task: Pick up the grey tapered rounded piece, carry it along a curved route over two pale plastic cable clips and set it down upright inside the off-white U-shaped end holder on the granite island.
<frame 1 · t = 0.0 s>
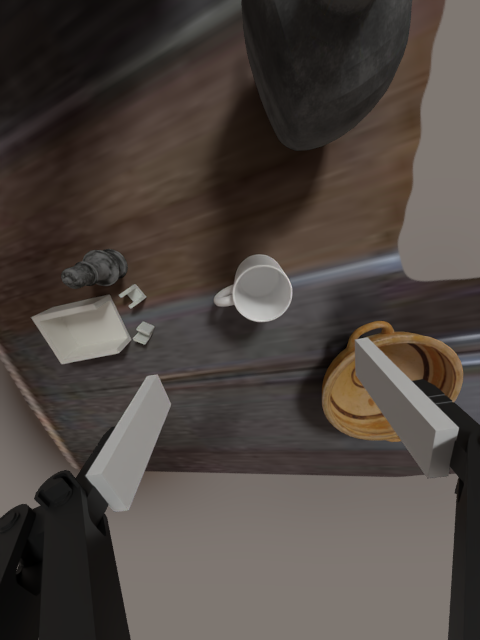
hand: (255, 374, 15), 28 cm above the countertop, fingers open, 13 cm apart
mug: (248, 280, 41), on the countertop
clip 1: (136, 293, 43), on the countertop
ceramic bowl: (368, 367, 48), on the countertop
pitcher: (291, 80, 30), on the countertop
end holder: (93, 323, 45), on the countertop
clip 2: (146, 329, 46), on the countertop
grey tapered rounded piece: (113, 264, 41), on the countertop
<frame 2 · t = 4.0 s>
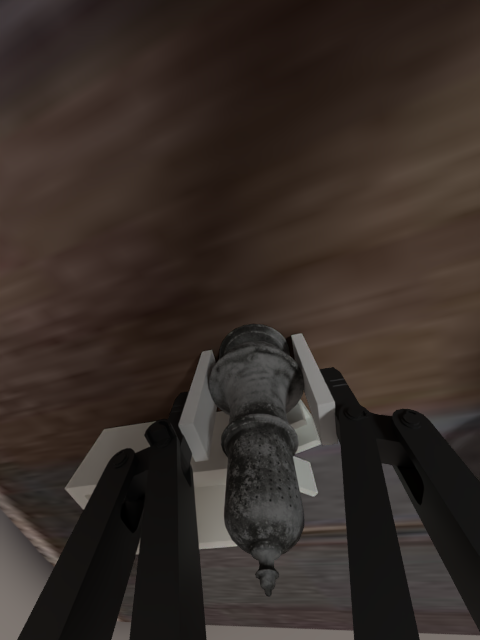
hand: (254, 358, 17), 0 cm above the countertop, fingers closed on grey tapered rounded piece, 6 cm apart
clip 1: (291, 409, 19), on the countertop
end holder: (183, 456, 22), on the countertop
clip 2: (290, 467, 22), on the countertop
grey tapered rounded piece: (254, 354, 17), on the countertop, touching gripper
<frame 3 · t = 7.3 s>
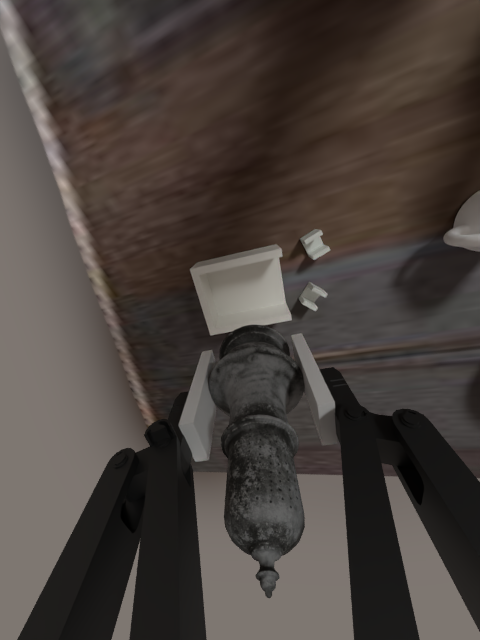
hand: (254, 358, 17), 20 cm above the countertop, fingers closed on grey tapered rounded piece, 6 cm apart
mug: (466, 223, 31), on the countertop
clip 1: (312, 243, 33), on the countertop
end holder: (243, 285, 36), on the countertop
clip 2: (310, 293, 36), on the countertop
grey tapered rounded piece: (254, 354, 17), point 20 cm above the countertop, touching gripper
when the fingers open (3 cm above the countertop, at t = 10.7 s): grey tapered rounded piece drops 2 cm, resting on end holder.
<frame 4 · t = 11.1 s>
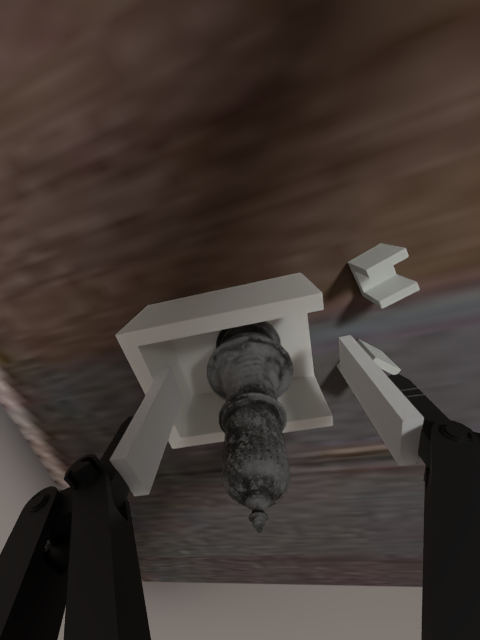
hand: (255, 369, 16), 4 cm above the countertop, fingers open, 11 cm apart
clip 1: (371, 270, 17), on the countertop
end holder: (236, 345, 19), on the countertop
clip 2: (358, 358, 20), on the countertop
grey tapered rounded piece: (248, 345, 19), resting on end holder
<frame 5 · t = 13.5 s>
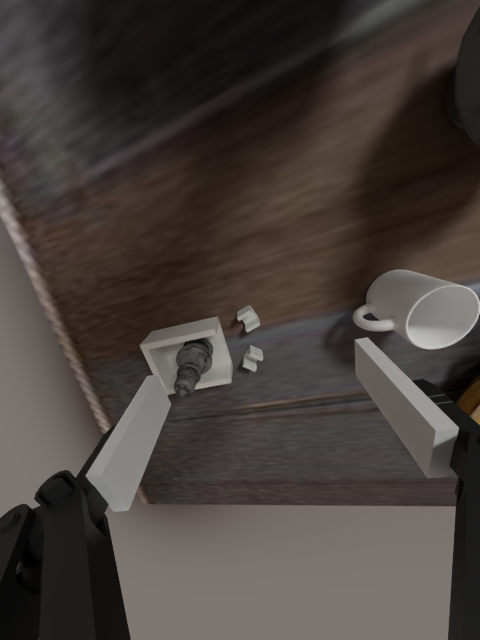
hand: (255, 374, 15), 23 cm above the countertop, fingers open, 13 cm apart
mug: (377, 297, 37), on the countertop
clip 1: (248, 315, 38), on the countertop
pitcher: (473, 73, 26), on the countertop
end holder: (193, 348, 41), on the countertop
clip 2: (252, 354, 41), on the countertop
grey tapered rounded piece: (198, 348, 40), resting on end holder
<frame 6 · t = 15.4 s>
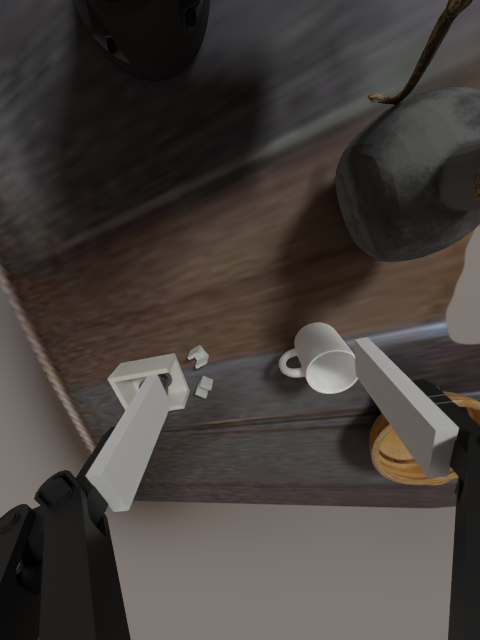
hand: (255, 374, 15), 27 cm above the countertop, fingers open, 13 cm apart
mug: (304, 342, 45), on the countertop
clip 1: (199, 353, 46), on the countertop
ceramic bowl: (408, 415, 52), on the countertop
pitcher: (361, 184, 34), on the countertop
end holder: (156, 377, 49), on the countertop
clip 2: (205, 382, 49), on the countertop
grey tapered rounded piece: (159, 377, 48), resting on end holder
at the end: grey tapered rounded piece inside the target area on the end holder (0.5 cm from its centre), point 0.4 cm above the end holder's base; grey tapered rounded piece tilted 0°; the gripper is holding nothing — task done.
